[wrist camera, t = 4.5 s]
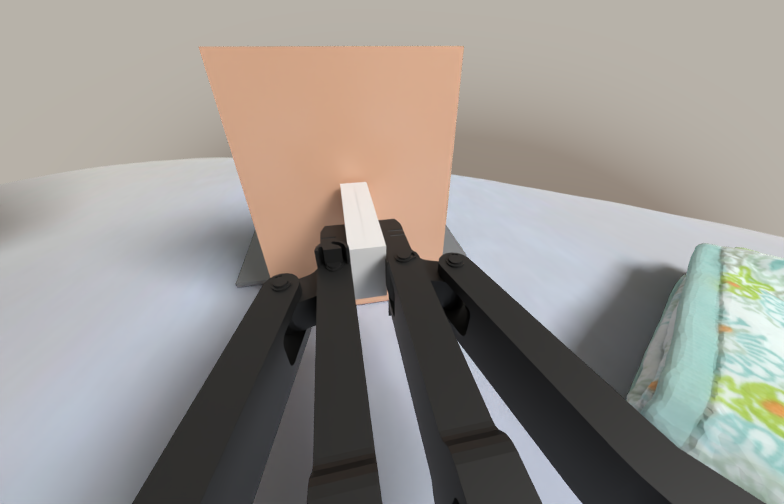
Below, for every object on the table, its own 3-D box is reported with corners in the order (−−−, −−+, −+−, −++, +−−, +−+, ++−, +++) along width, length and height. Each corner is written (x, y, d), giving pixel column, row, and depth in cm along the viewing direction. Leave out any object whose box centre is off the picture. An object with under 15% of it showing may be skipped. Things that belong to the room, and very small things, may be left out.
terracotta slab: (282, 315, 21) (198, 46, 12) (287, 286, 24) (221, 50, 15) (438, 293, 23) (463, 46, 14) (426, 269, 25) (441, 49, 17)
